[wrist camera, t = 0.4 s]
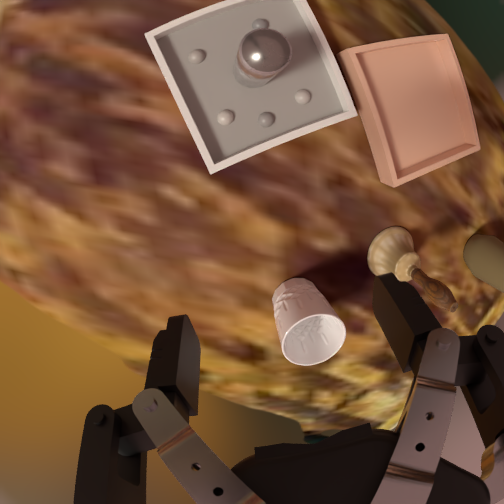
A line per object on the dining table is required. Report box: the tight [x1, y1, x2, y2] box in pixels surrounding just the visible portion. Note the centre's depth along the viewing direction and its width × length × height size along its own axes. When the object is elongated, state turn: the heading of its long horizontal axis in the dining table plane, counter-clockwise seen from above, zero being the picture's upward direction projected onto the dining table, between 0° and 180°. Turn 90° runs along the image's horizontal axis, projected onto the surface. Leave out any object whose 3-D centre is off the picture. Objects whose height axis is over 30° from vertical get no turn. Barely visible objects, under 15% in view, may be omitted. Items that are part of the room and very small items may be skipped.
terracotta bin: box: [336, 34, 480, 187], centre depth 32 cm, size 18×18×4 cm
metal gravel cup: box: [233, 28, 292, 88], centre depth 25 cm, size 4×4×9 cm
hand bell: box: [367, 226, 458, 312], centre depth 35 cm, size 8×8×16 cm
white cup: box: [272, 278, 346, 365], centre depth 39 cm, size 8×8×10 cm
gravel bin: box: [144, 0, 358, 174], centre depth 29 cm, size 18×18×4 cm
